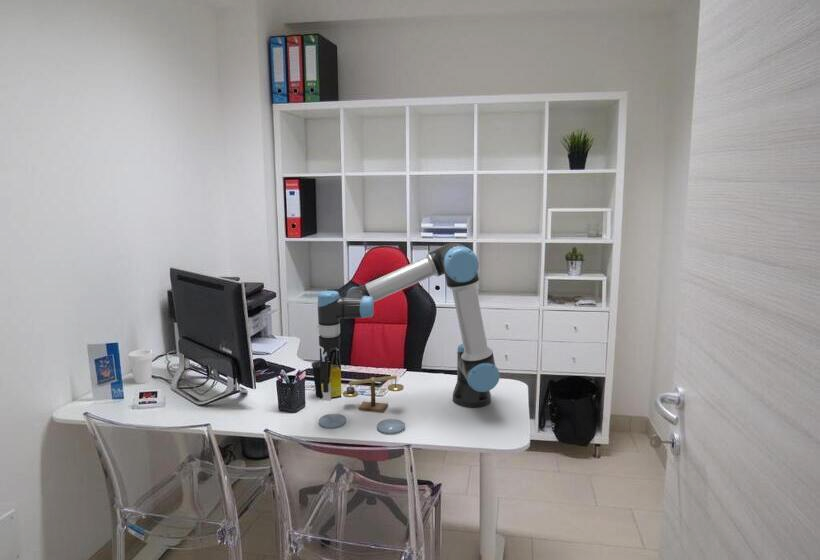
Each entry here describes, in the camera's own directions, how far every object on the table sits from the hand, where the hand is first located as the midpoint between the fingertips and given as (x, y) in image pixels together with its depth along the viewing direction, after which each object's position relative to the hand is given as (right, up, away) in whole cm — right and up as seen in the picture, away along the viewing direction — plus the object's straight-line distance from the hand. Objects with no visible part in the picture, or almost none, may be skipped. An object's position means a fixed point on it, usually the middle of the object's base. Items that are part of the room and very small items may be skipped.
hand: (331, 395), depth 209 cm
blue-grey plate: (+22, -11, -3) cm, 24 cm away
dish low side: (0, -10, +2) cm, 11 cm away
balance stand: (+14, -8, +14) cm, 21 cm away
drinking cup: (-7, -6, +27) cm, 28 cm away
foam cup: (-88, -3, +44) cm, 99 cm away
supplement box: (0, 0, 0) cm, 0 cm away
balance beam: (+14, -3, +13) cm, 19 cm away
